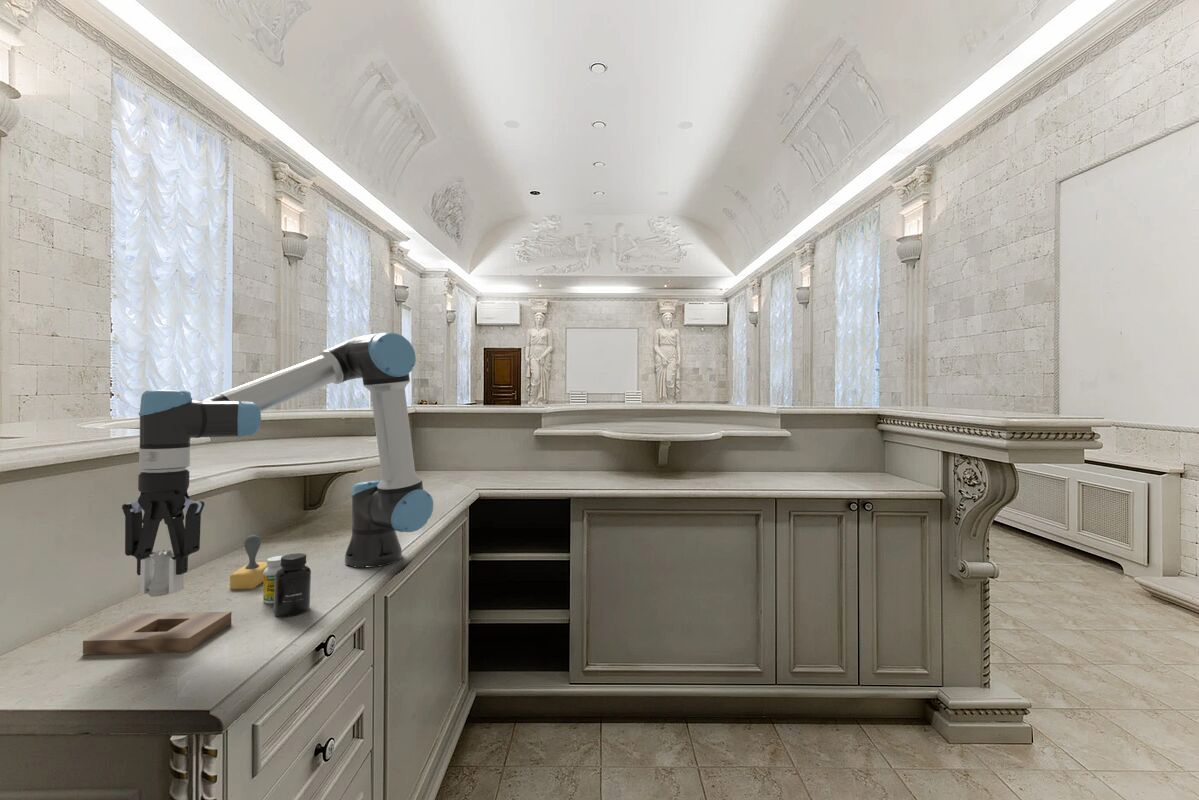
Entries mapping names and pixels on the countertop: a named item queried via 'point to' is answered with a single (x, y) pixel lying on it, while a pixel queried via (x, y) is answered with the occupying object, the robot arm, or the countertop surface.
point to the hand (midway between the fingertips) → (162, 591)
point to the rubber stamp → (249, 567)
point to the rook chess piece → (160, 573)
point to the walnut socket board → (158, 633)
